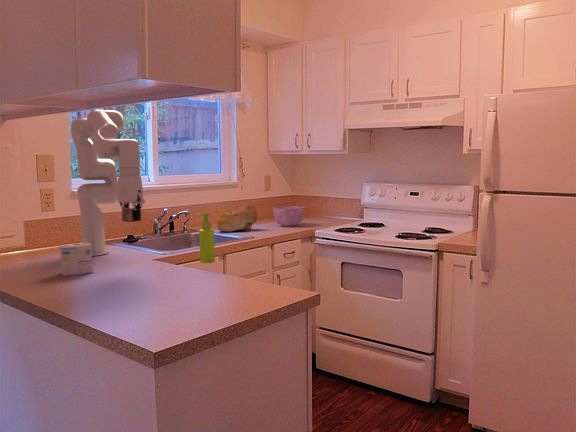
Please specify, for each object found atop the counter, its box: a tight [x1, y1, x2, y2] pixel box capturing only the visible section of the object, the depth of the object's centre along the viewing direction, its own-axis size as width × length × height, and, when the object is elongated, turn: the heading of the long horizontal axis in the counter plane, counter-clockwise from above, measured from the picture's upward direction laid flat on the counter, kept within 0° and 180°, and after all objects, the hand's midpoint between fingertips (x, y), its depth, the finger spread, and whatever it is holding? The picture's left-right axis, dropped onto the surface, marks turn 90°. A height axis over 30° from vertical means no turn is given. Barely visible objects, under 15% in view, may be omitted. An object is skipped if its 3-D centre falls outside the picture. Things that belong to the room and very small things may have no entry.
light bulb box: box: [59, 242, 94, 277], centre depth 193 cm, size 11×7×11 cm, turn 119°
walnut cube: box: [121, 206, 142, 223], centre depth 197 cm, size 5×5×5 cm
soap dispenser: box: [195, 212, 216, 264], centre depth 210 cm, size 6×7×20 cm
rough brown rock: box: [216, 204, 258, 233], centre depth 302 cm, size 23×17×15 cm
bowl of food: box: [272, 205, 306, 228], centre depth 318 cm, size 20×20×12 cm
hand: (131, 219), depth 198 cm, fingers closed on walnut cube, 5 cm apart
